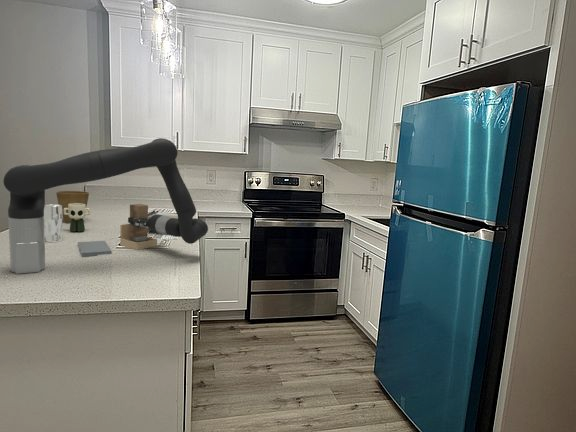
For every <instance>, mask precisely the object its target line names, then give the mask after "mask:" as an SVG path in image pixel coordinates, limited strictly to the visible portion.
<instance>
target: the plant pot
mask: <svg viewBox="0 0 576 432" xmlns="http://www.w3.org/2000/svg"><path fill="white" fill-rule="evenodd" d="M55 194H56V199H57V204H58V205H62V211H63V221H64V222H65V223H66V224H70V223H71V219H72V218H70V217H69V216H68V215H64V208H68V204H73V203H81V204H85V205H86V207H87V205H88V201H89V195H90V192H88V191H81V190H80V191H79V190H59V191H56V192H55ZM66 213H68V210H66ZM82 219H83V220H84V218H82Z"/></svg>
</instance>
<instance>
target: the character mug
mask: <svg viewBox="0 0 576 432" xmlns="http://www.w3.org/2000/svg"><path fill="white" fill-rule="evenodd" d="M66 210H68V213H66ZM64 215H68V216H69V217H70V218H72V219H71V223H69V224H70V225H69V231H70V232H76V231H77V232H85V230H86V228H85V222H84V218H86V215H87V216H90V215H91V207H90V208H89V207H87V206H86V205H85V204H81V203H73V204H68V208H64ZM82 218H83V219H82Z"/></svg>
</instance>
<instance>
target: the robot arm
mask: <svg viewBox="0 0 576 432" xmlns="http://www.w3.org/2000/svg"><path fill="white" fill-rule="evenodd" d="M177 157H178V148H177V146H176V145H175V144H174V143H173V141H171V140H169V139H167V138H163V137H162V138H161V137H160V138H159V137H158V138H155V139H154V140H152V141H151V142H148V143H144V144H141V145H137V146H132V147H122V148H121V147H120V148H119V147H118V148H107V149H106V148H105V149H100V150H94V151H90V152H85V153H80V154H76V155H72V156H70V157H67V158H64V159H61V160H57V161H53V162H49V163H48V162H47V163H41V164H32V165H30V164H23V165H16V166H14V167H12V168H10V169H9V170H8V171H7V172H6V173H5V174H4V176H3V177H4V178H3V180H2V182H3V185H4V187H5V189H6V190H7V191H8V192H9V197H10V200H9V206H8V209H7V211H8V213H7V216H8V238H9V243H8V244H9V260H10V264H9V265H10V271H11V272H12V273H15V274H16V275H19V274H28V273H29V274H30V273H39V272H41V271H42V270H45V269H46V246H45V245H46V243H45V242H46V241H45V238H46V235H45V224H44V207H45V205H46V190H49V189H53V188H55V187H60V186H66V185H74V184H75V185H76V184H82V183H83V184H84V183H89V182H96V181H101V180H104V179H109V178H113V177H115V176H120V175H123V174H126V173H129V172H133V171H135V170H140V169H145V168H153V167H156V168H157V170H158V171H159V173H160V175H161V177H162V179H163V181H164V184H165V186H166V189H167V192H168V195H169V198H170V200H171V203H172V205H173V207H174V210H175V214H177V215H178V219H177V218H172V217H169V216H164V215H158V214H155V215H153V216H152V217H148V218H138V219H137V218H131V217H130V216H129V217H128V218H127V224H130V223H131V225H132V226H135V227H140V226H141V227H145V228H149V231H150V232H152V233H153V234H158V235H159V234H160V235H163V236H171V237H175V238H176V237H177V238H180V237H181V239H182V240H183V241H184V243H186V244H189V245H192V244H194V243H196V242H197V241H199V240H200V239H202V238H203V237H204V236H206V235H207V233H208V231H209V227H208V224H207V223H206V221H204V220H202V219H200V218H196V217H195V218H194V216H195V215H196V214H197V208H196V206H195V203H194V201H193V198H192V196H191V194H190V191H189V189H188V188H187V185H186V183H185V182H184V179H183V178H182V175H181V173H180V171H179V168H178V165H177V161H176V159H177Z"/></svg>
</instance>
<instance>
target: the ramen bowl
mask: <svg viewBox="0 0 576 432" xmlns="http://www.w3.org/2000/svg"><path fill="white" fill-rule="evenodd" d="M155 214H158V215H164V216H169V217H172V218H177V219H178V215H177V213H175V214H174V213H167V212H165V213H164V212H159V210H153V211H150V212H148V217H152V216H153V215H155ZM148 229H149V228H148ZM149 230H150V229H149Z"/></svg>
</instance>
